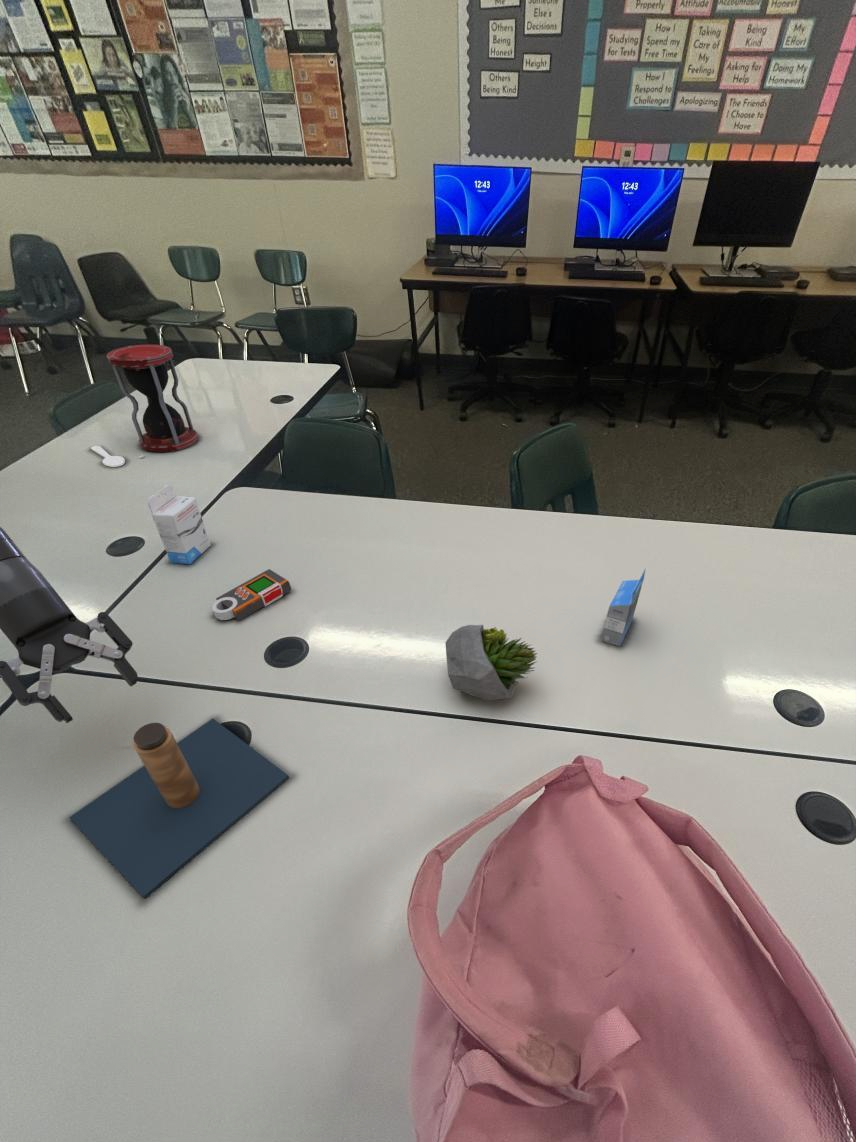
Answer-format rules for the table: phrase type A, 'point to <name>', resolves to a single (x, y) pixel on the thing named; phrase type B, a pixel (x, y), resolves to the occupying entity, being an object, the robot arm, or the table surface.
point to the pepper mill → (166, 764)
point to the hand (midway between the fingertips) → (103, 702)
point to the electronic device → (251, 596)
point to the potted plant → (486, 662)
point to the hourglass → (153, 397)
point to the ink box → (179, 525)
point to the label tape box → (622, 611)
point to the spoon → (109, 457)
